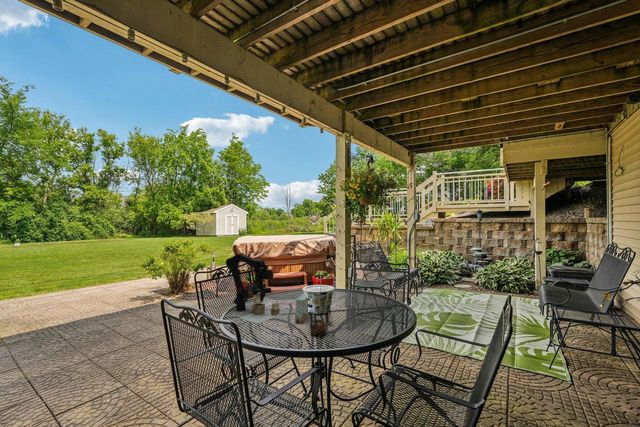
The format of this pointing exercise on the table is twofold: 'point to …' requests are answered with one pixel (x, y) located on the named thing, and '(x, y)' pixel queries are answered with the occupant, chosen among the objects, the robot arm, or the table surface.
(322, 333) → the decorative turtle
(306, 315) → the snack box
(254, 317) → the board
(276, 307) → the tower
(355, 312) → the table surface
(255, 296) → the maple block
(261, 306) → the walnut block
